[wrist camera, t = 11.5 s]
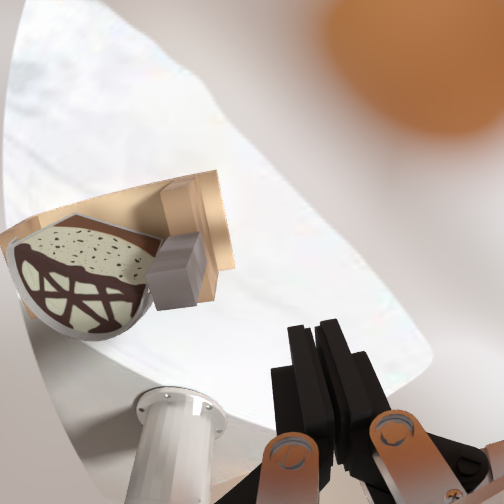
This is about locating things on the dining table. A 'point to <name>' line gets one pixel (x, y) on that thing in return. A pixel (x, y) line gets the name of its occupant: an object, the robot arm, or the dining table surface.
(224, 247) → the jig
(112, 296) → the food container
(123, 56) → the dining table surface
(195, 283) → the block
